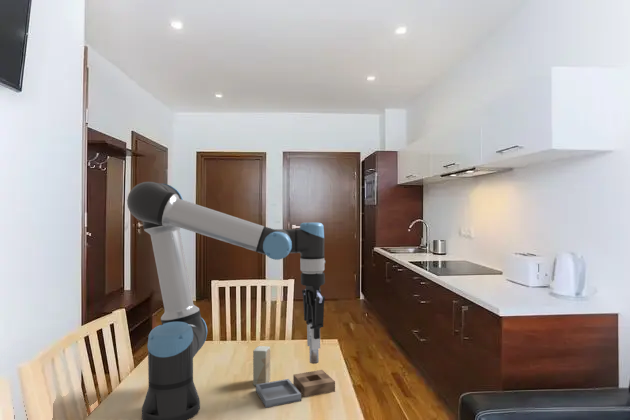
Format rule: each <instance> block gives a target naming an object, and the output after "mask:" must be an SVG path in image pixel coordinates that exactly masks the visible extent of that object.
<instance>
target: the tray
mask: <svg viewBox="0 0 630 420" xmlns="http://www.w3.org/2000/svg"><path fill="white" fill-rule="evenodd" d="M255 392H256V394H257V395H258V397H259V399H260V400H261V402H262V404H263V406H264V407H265V408H271V407H276V406H282V405H286V404H291V403H296V402H301V401H302V394H301V392H300V391H299V390H298V389H297V388H296V386H295V385H294V384H293V382H292V381H291V380H290V379H289V378H286V379H279V380H273V381H269V382H267V383H261V384H256V385H255Z"/></svg>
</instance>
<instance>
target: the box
mask: <svg viewBox="0 0 630 420" xmlns="http://www.w3.org/2000/svg"><path fill="white" fill-rule="evenodd" d="M252 354H253V355H252V360H253V361H252V362H253V363H252V365H253V366H252V367H253V369H252V371H253V373H252V375H253V378H252V379H253V381H252V382H253V383H252V384H253V386H256V384H261V383H267V382H271V346H265V345H264V346H263V345H259V346H256V348H255V349H253V353H252Z"/></svg>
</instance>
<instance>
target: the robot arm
mask: <svg viewBox="0 0 630 420" xmlns="http://www.w3.org/2000/svg"><path fill="white" fill-rule="evenodd" d="M126 206H127V208H128V211H129V213H130V214H131V216H133V217H134V218H135V219H137V220H139V221H141V223H142V227H143V230H144V232H146V233H147V234H149V236H150V239H151V244H152V251H153V255H154V260H155V266H156V272H157V277H158V282H159V288H160V293H161V299H162V303H163V310H164V313H163V314H162V315H161V317H160V322H161V324H159V325H157V326H155V327H154V328H152V329H151V331H150V332H149V334H148V337H147V338H148V339H147V362H148V363H147V364H148V366H147V370H148V376H147V377H148V389H147V391H146V394H145V396H144V397H145V398H144V401H143V404H142V407H141V420H191V419H192V418H193V417H195V416H196V415H198V413H199V412H200V409H201V400H200V399H201V398H200V396H199V393H198V390H197V389H196V388H197V387H196V385H195V383H194V357H196V355H197V353H198V352H199V350H201V349H202V348H203V346H204V344H205V343H206V340H207V335H208V327H207V324H206V321H205V320H204V318H203V317H202V315H201V310H200V307H198V306H197V305H195V304H194V301H193V295H192V290H191V284H190V279H189V273H188V268H187V263H186V257H185V252H184V246H183V242H182V236H181V231H180V230H181V229H183V230H185V231H189V232H192V233H197V234H199V235H202V236H206V237H209V238H212V239H215V240H219V241H221V242H224V243H229V244H231V245H233V246H237V247H241V248H244V249H246V250H250V251H253V252H256V253H259V254H262V255H265V256H267V257H268V258H269V259H271V260H272V259H273V260H277V261H280V260H282V259H284V258H285V259H286V258H287V256H289V254H300V263H299V264H300V267H299V268H300V272H301V273H300V284H301V285H302V286H305V289H302V290H301V293H302V304H303V320H304V321H305V323H306V332H307V333H306V335H307V337H306V339H307V341H306V342H307V344H306V345H307V347H309V323H312V327H310V329H311V349H312V350H313V349H318V350H319V349H321V328H324V317H325V316H324V312H325V311H324V309H325V300H326V297H325V296H324V295H322V291H321V286H323V285H325V283H326V277H325V273H326V272H324V271H325V269H326V268H325V264H326V260H325V229H324V228H325V227H324V224H323V223H321V222H315V221H314V222H311V221H310V222H302V223H300V224H299V228H295V229H283V228H281V229H280V228H279V229H275V228H271V227H267V226H265V225H261V224H258V223H256V222H252V221H249V220H246V219H243V218H240V217H236V216H233V215H230V214H227V213H225V212H221V211H218V210H215V209H212V208H208V207H206V206H202V205H199V204H197V203H193V202H190V201H187V200H185V199H184V197H183V195H182V194H181V192H180V191H179V190H178V189H177V188H175V187H173V186H171V185H169V184H167V183H159V182H155V181H143V182H140V183H138V184H136V185H135V186H133V188H131V190H130V191H129V193H128V195H127V199H126Z"/></svg>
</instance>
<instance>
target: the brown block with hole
mask: <svg viewBox="0 0 630 420" xmlns="http://www.w3.org/2000/svg"><path fill="white" fill-rule="evenodd" d="M292 377H293V379H292V381H293V382H292V384H293V385H294V386H295V387H296V388H297V390H298V391H299V392H300V393H301V396H303V397H304V398H306V397H308V398H309V397H312V396H313V397H314V396H317V395H322V394H328V393H333V392H332V391H334V392H335V391H336V381H335V380H334V379H333V378H332V377H331V376H330V375H329V374H327V372H326V371H325V370H323V369H318V370H312V371H308V372H301V373H295V374H293V376H292Z"/></svg>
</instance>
